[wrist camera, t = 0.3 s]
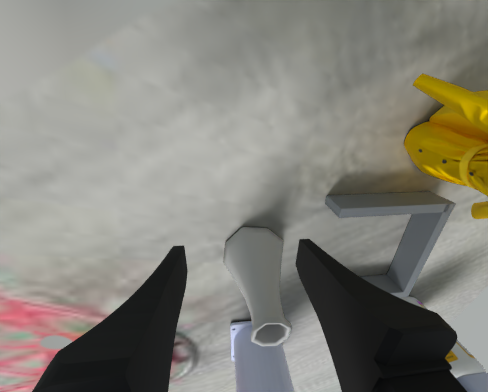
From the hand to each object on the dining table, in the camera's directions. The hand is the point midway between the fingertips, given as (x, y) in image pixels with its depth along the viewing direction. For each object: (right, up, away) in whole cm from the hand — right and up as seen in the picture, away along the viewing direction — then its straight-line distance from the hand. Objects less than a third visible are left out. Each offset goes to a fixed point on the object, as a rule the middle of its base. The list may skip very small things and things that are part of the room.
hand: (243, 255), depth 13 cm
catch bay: (+15, -2, +14) cm, 20 cm away
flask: (+1, -3, +12) cm, 13 cm away
